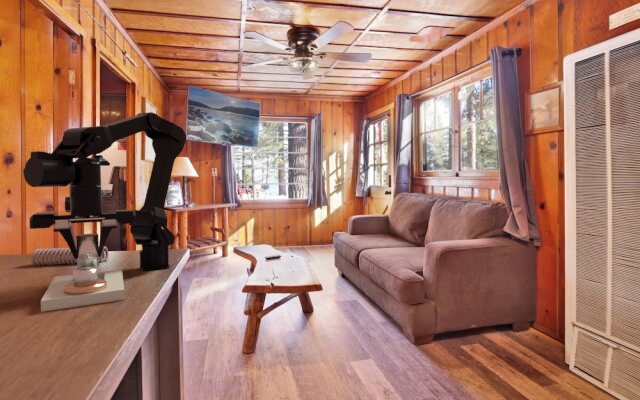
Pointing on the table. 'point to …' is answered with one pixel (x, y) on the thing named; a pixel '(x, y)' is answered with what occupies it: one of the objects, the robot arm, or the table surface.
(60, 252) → the coil
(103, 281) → the copper flanged knob
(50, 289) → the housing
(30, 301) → the table surface
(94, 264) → the loose cylinder
